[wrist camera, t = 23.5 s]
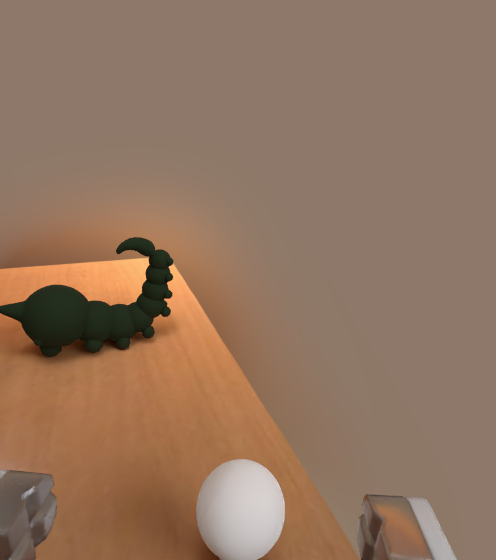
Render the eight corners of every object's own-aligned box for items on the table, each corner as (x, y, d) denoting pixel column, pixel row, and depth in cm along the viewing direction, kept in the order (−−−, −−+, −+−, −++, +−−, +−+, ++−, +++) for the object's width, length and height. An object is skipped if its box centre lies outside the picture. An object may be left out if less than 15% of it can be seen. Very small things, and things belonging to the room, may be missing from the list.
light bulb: (222, 642, 26) (224, 542, 22) (184, 557, 31) (180, 463, 27) (294, 586, 30) (308, 490, 26) (249, 517, 35) (254, 428, 31)
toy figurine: (161, 328, 70) (5, 343, 59) (166, 230, 63) (-9, 227, 53) (173, 354, 62) (-5, 377, 51) (180, 246, 55) (-23, 246, 45)
